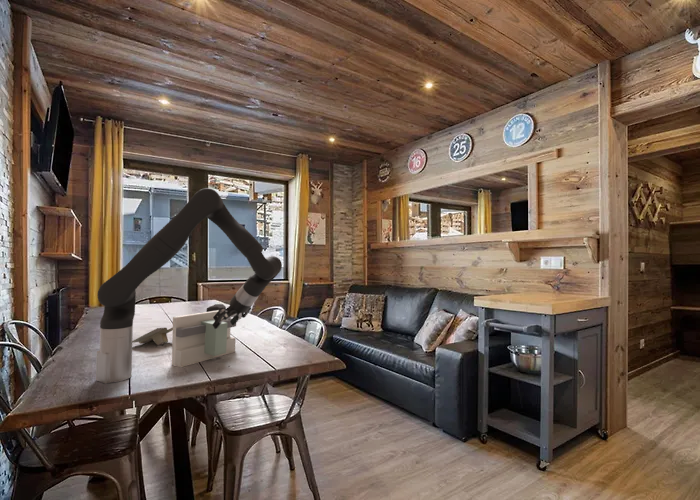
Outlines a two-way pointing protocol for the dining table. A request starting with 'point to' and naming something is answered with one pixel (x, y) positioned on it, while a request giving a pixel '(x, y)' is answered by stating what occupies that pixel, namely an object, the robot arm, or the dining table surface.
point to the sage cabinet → (215, 338)
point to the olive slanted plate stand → (155, 336)
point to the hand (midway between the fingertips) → (223, 325)
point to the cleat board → (194, 339)
